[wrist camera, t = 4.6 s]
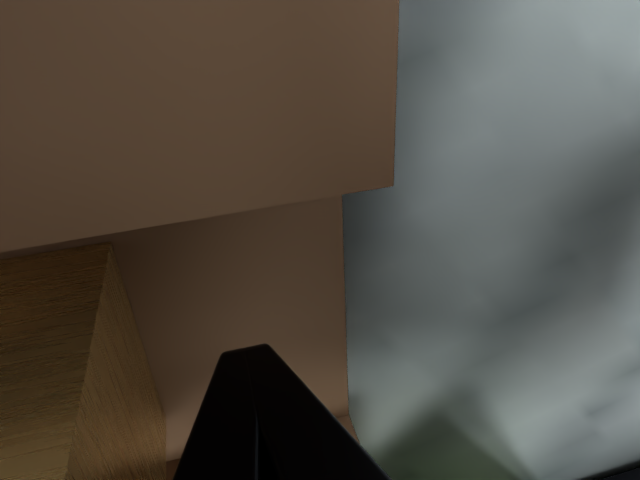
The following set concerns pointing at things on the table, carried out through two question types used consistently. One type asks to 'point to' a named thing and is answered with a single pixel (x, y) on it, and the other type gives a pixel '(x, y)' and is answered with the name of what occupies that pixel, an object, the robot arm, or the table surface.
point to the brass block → (75, 372)
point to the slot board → (202, 168)
